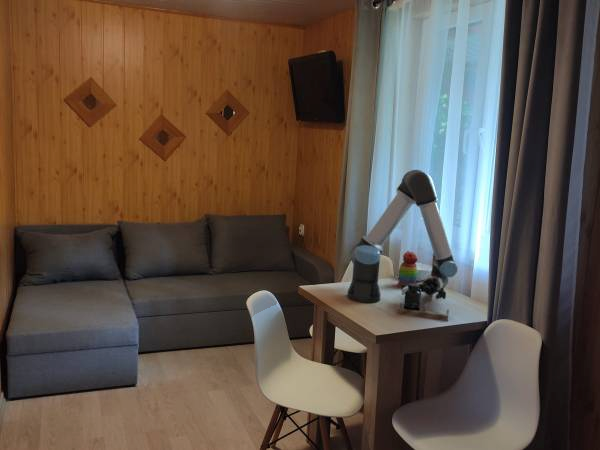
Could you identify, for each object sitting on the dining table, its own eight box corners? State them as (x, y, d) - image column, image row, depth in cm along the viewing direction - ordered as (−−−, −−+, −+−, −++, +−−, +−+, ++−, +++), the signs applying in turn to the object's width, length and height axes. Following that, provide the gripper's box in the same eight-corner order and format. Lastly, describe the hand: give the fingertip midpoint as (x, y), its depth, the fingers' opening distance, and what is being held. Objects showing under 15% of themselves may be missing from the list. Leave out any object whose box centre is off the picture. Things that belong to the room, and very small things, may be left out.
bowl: (431, 284, 302) (433, 271, 301) (400, 281, 305) (401, 267, 304) (431, 277, 318) (432, 264, 317) (401, 274, 321) (402, 261, 320)
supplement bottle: (415, 315, 248) (418, 287, 246) (400, 311, 252) (403, 284, 250) (421, 311, 254) (424, 284, 252) (406, 308, 258) (409, 281, 256)
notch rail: (397, 313, 249) (397, 308, 249) (399, 307, 258) (399, 302, 258) (447, 320, 244) (448, 316, 244) (448, 314, 253) (448, 309, 253)
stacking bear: (419, 290, 290) (423, 254, 287) (398, 288, 290) (402, 253, 287) (415, 284, 300) (418, 250, 297) (395, 283, 300) (399, 248, 297)
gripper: (458, 298, 267) (445, 309, 249) (405, 288, 279) (389, 297, 261) (460, 282, 266) (446, 292, 248) (407, 272, 278) (391, 281, 260)
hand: (417, 295), depth 254 cm, fingers open, 13 cm apart
